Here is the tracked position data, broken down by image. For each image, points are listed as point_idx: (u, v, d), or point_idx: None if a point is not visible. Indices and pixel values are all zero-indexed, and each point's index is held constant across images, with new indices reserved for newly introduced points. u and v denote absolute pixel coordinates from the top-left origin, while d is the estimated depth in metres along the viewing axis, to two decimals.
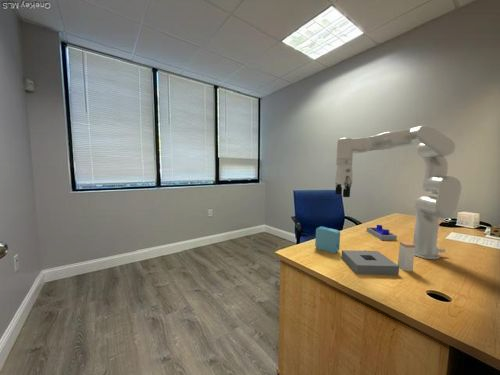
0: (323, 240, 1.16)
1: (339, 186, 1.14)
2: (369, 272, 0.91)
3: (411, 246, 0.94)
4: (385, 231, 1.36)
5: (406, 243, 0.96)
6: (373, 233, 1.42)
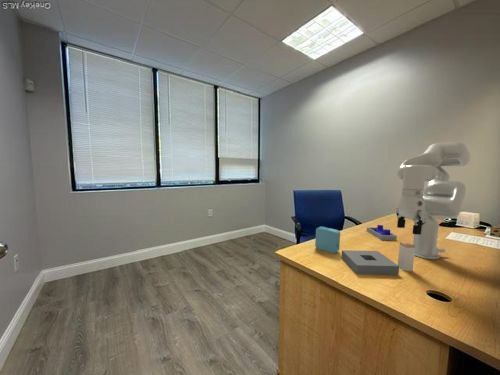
0: (323, 240, 1.16)
1: (402, 218, 0.99)
2: (369, 272, 0.91)
3: (411, 246, 0.94)
4: (386, 231, 1.36)
5: (406, 243, 0.96)
6: (373, 233, 1.42)
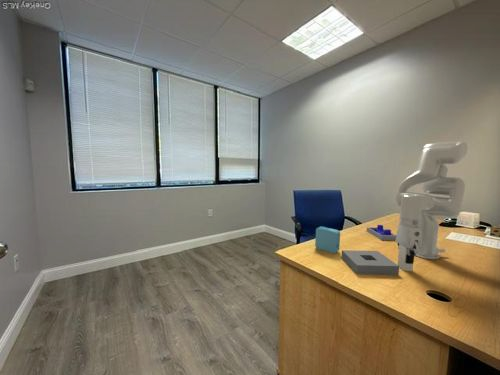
0: (323, 240, 1.16)
1: None
2: (369, 272, 0.91)
3: None
4: (387, 231, 1.36)
5: None
6: (373, 233, 1.42)
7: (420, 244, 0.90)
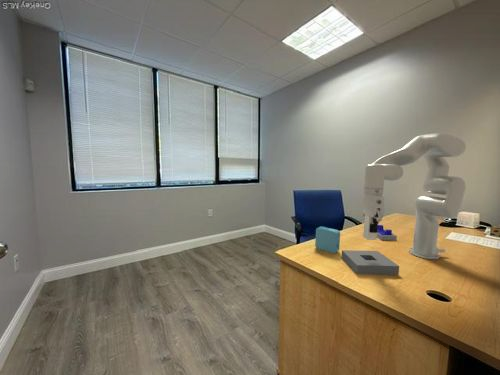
0: (323, 240, 1.16)
1: None
2: (369, 272, 0.91)
3: None
4: (388, 231, 1.36)
5: None
6: None
7: (382, 212, 0.91)
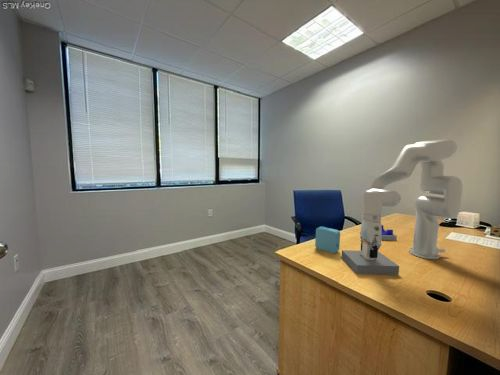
0: (323, 240, 1.16)
1: None
2: (369, 272, 0.91)
3: None
4: (389, 231, 1.36)
5: None
6: None
7: (380, 238, 0.93)
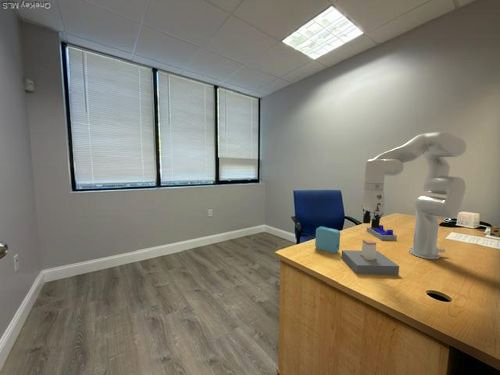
0: (323, 240, 1.16)
1: (368, 214, 1.00)
2: (369, 272, 0.91)
3: (372, 244, 0.96)
4: (389, 231, 1.36)
5: (368, 240, 0.98)
6: (373, 233, 1.42)
7: (382, 207, 0.91)
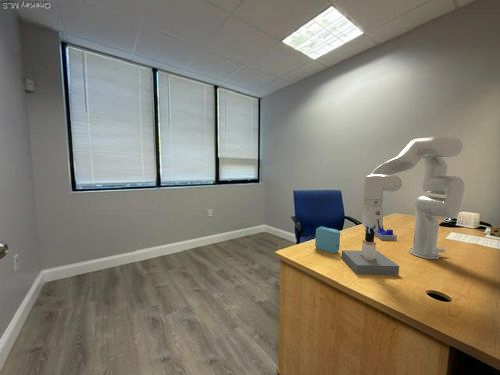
0: (323, 240, 1.16)
1: None
2: (369, 272, 0.91)
3: (372, 244, 0.96)
4: (389, 231, 1.36)
5: None
6: None
7: (381, 223, 0.92)
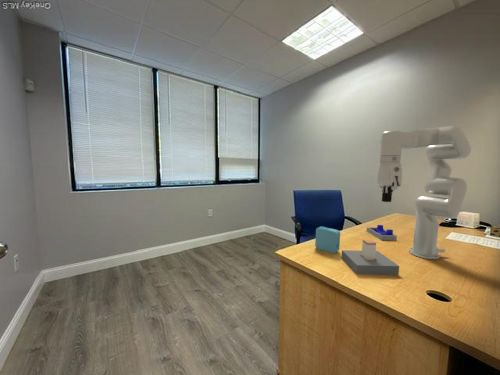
0: (323, 240, 1.16)
1: None
2: (369, 272, 0.91)
3: (372, 244, 0.96)
4: (389, 231, 1.36)
5: (368, 240, 0.98)
6: (373, 233, 1.42)
7: (400, 180, 0.88)
